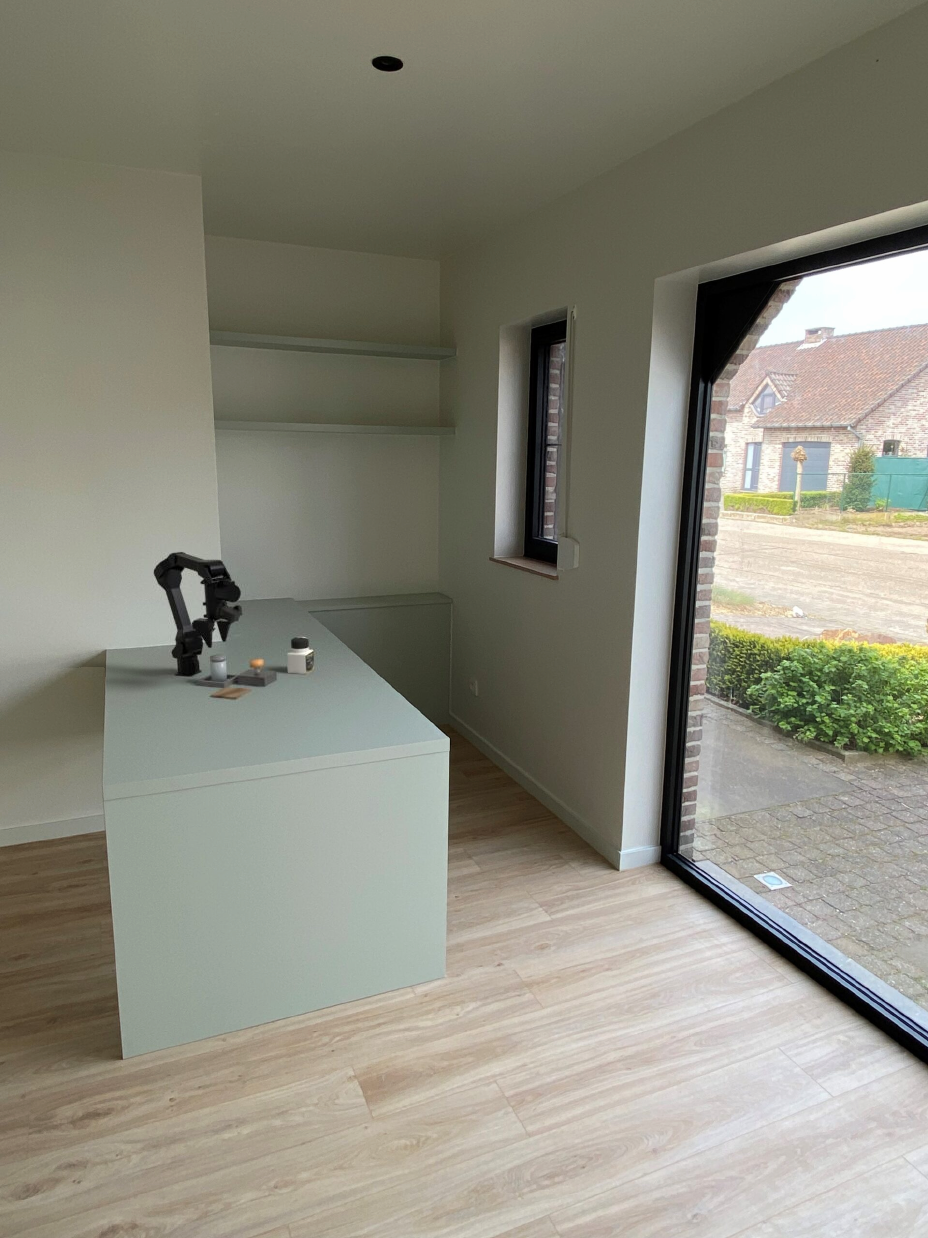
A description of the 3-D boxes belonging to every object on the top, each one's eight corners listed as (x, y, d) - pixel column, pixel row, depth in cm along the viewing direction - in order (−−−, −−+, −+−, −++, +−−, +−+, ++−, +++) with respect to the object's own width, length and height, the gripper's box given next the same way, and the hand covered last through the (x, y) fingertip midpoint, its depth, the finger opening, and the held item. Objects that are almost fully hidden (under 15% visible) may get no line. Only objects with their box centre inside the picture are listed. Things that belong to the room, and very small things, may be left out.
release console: (238, 683, 266) (237, 675, 266) (250, 677, 274) (250, 668, 273) (264, 686, 264) (264, 677, 263) (276, 679, 271) (276, 671, 270)
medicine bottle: (306, 674, 278) (305, 641, 275) (287, 673, 279) (285, 639, 276) (314, 668, 284) (313, 636, 282) (295, 667, 286) (294, 635, 283)
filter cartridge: (208, 683, 266) (207, 657, 264) (217, 679, 271) (215, 653, 269) (222, 685, 265) (220, 658, 263) (230, 680, 270) (228, 655, 268)
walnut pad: (210, 696, 253) (210, 694, 253) (226, 688, 261) (226, 686, 261) (236, 699, 250) (235, 697, 250) (250, 690, 259) (250, 689, 259)
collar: (197, 685, 265) (197, 680, 264) (214, 676, 274) (214, 672, 274) (224, 687, 262) (224, 683, 262) (240, 679, 271) (240, 675, 271)
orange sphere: (247, 674, 266) (247, 661, 266) (254, 670, 271) (253, 658, 270) (259, 675, 265) (259, 662, 264) (266, 671, 269) (265, 659, 269)
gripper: (220, 605, 251) (223, 653, 254) (250, 594, 268) (253, 639, 272) (189, 603, 254) (192, 650, 257) (221, 593, 271) (224, 637, 275)
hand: (217, 644), depth 265 cm, fingers open, 8 cm apart
